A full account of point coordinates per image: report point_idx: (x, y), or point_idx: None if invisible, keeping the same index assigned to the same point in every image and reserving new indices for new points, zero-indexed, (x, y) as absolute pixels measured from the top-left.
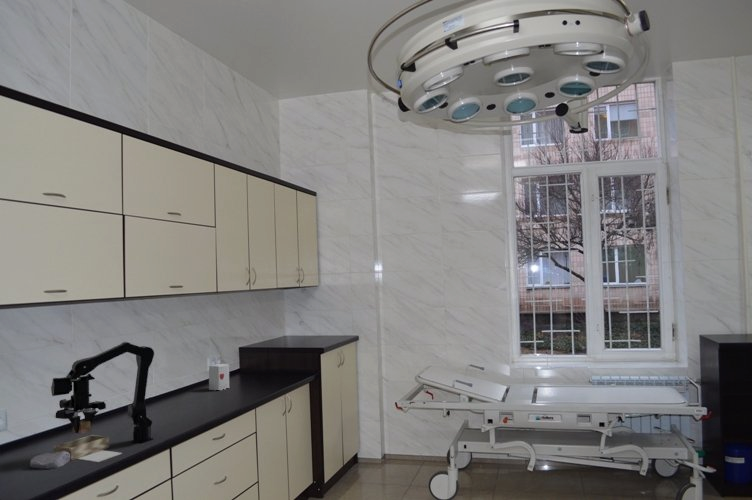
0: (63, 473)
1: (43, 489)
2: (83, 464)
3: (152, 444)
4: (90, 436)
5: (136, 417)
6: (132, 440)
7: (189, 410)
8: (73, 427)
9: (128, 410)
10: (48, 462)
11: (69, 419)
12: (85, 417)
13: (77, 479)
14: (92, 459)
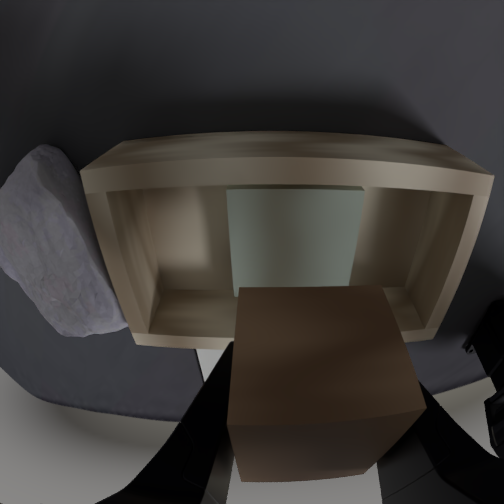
0: (81, 367)
1: (32, 387)
2: (162, 367)
3: (444, 381)
4: (461, 192)
5: (493, 448)
6: (497, 306)
7: None
8: (197, 397)
9: None
10: (37, 305)
11: (119, 500)
12: (422, 472)
13: (99, 412)
14: (213, 367)
